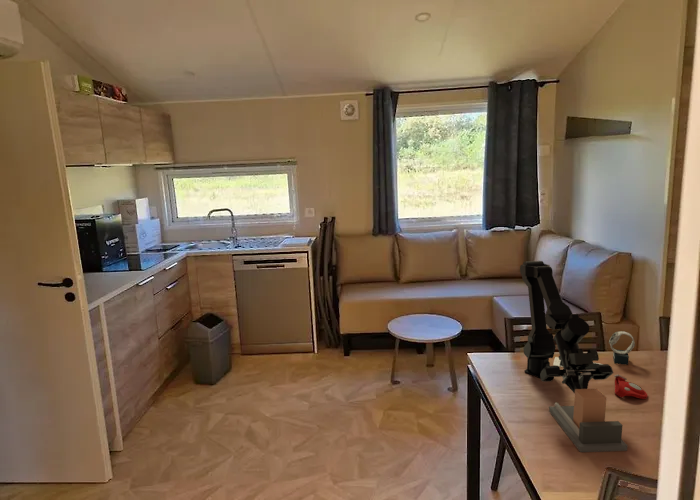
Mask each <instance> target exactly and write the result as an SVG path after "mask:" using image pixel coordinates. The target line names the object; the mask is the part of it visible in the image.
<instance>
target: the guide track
mask: <svg viewBox="0 0 700 500" xmlns="http://www.w3.org/2000/svg"><path fill="white" fill-rule="evenodd" d="M548 412H549V414H550V415H551V416H552V417H553V419H554V420H555V421H556V422H557V424H558V426H560V428H561V429H562V430H563V432H564V433H565V434H566V436H567V437H568V438H569V440H570V441H571V442H572V443H573V445H574V446H575V448H576V449H577V450H578V452H580V453H594V452H595V453H597V452H599V453H601V452H624V451H626V452H627V451H628V444H627V443H626V442H625V441H624V440H623V438H622V435H623V424H622V423H621V422H620V421H619V420H611V421H610V420H609V421H606V420H605V421H604V422H580V427H579V428H578V427H577V426H576V425H575V423H574V422H573V415H574V405H560V404H559V402H554V405H553V406H548Z"/></svg>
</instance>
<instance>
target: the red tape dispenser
mask: <svg viewBox="0 0 700 500" xmlns="http://www.w3.org/2000/svg"><path fill="white" fill-rule="evenodd" d="M614 377H615V378H614V394H615V395H616V396H618V397H619V398H624V397H634V398H637V399H640V400H641V399H642V400H646V399H647V398H648V396H649V395H648V393H647V392H646V391H645V390H644V389H643V388H642V387H641V386H640V385H637V384H636V383H633V382H631V381H630V382H629V381H627V378H626V377H625V376H622V375H620V374H615V375H614Z"/></svg>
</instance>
